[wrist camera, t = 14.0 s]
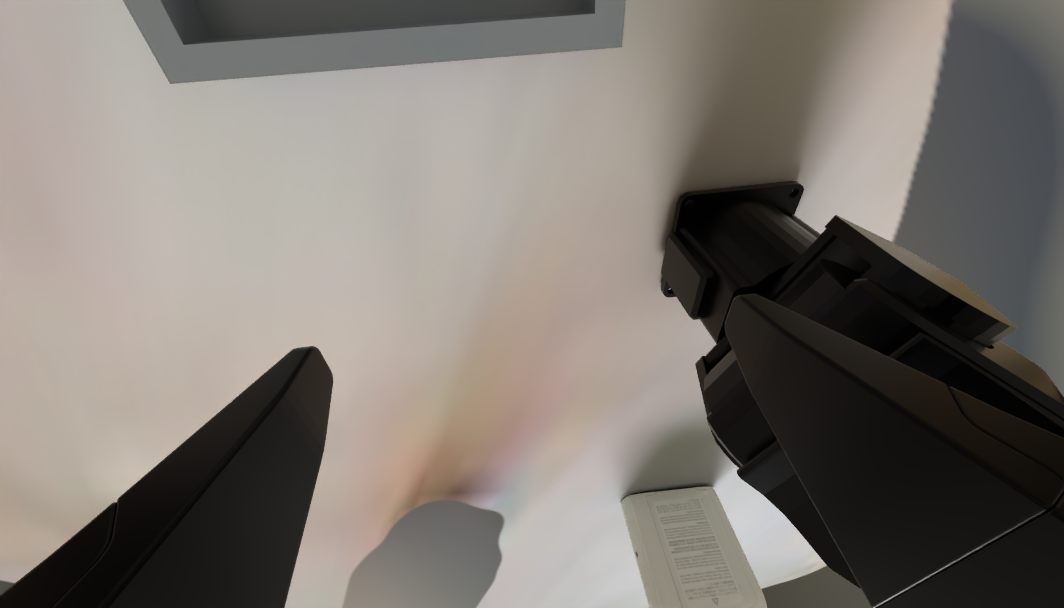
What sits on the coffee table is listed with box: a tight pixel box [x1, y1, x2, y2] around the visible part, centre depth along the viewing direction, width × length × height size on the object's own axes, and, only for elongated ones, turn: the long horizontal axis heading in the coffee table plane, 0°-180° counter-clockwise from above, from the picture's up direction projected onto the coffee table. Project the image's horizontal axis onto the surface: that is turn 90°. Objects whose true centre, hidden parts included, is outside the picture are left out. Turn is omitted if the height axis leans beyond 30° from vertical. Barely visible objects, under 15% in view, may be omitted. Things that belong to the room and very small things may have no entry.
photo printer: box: [621, 487, 767, 608], centre depth 38 cm, size 10×4×12 cm, turn 89°
